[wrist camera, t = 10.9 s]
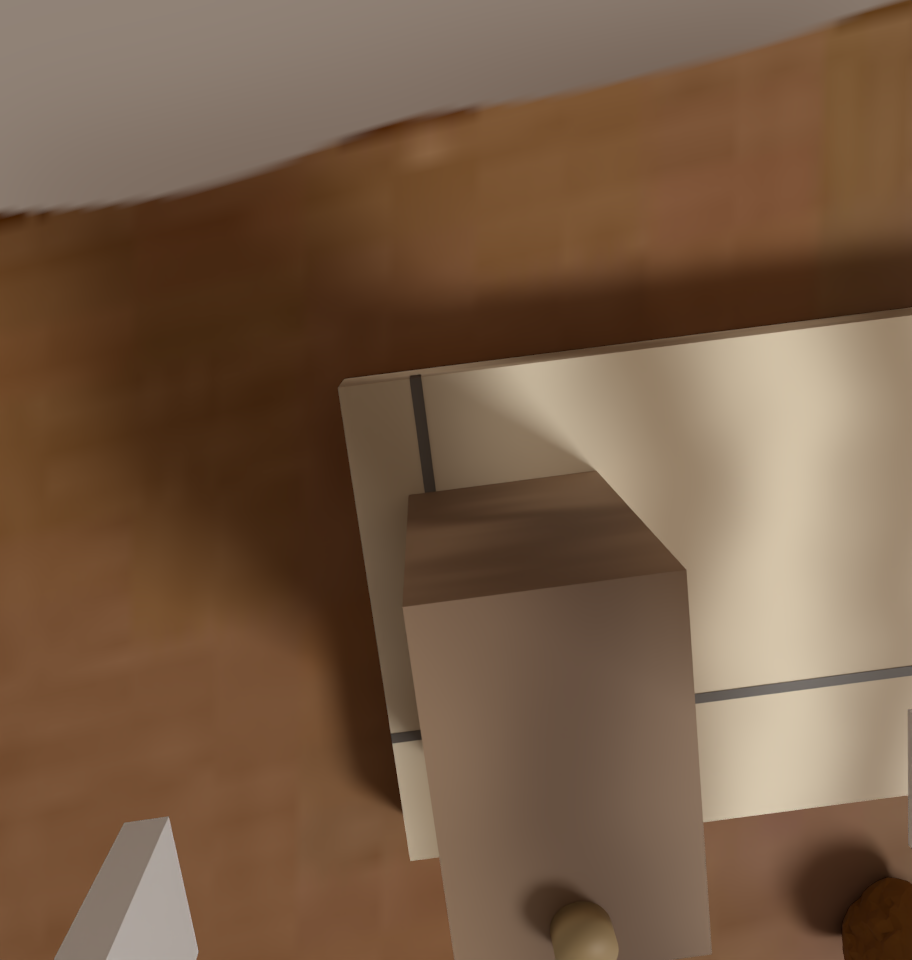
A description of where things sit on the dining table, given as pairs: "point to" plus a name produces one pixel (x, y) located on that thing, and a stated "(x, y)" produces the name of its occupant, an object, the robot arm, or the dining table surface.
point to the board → (695, 530)
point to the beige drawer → (557, 722)
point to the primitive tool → (880, 923)
